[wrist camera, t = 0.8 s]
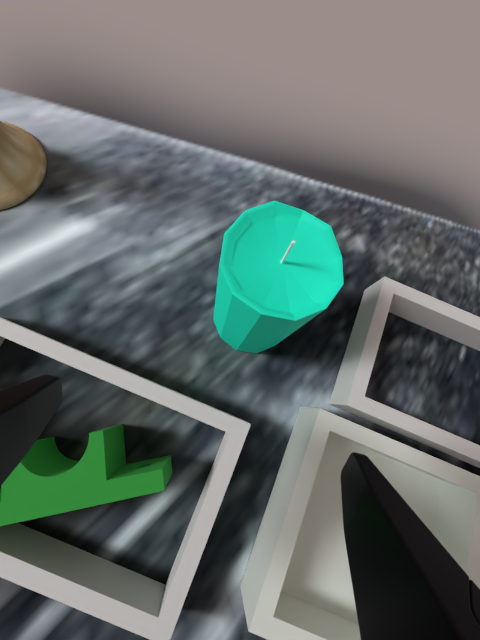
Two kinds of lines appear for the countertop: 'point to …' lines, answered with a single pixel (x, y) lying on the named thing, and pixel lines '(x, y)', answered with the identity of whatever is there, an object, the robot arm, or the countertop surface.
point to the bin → (327, 526)
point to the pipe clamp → (78, 478)
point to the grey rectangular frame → (364, 350)
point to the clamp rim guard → (97, 573)
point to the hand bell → (19, 165)
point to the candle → (274, 275)
